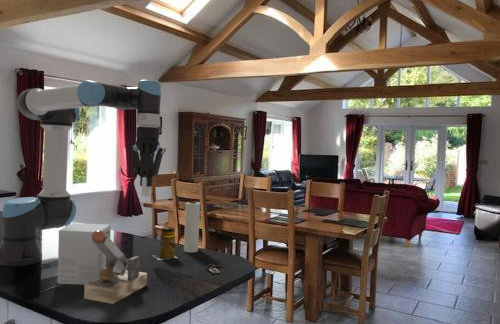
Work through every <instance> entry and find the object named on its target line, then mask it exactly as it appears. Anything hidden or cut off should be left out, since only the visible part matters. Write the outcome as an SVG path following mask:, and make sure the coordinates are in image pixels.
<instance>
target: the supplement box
mask: <svg viewBox="0 0 500 324" xmlns="http://www.w3.org/2000/svg"><path fill="white" fill-rule="evenodd" d="M111 228H112V227H111V224H104V223H103V224H102V223H76V222H74V223H70V224H69V225H67V226H64V228H61V229H59V230H58V250H57V251H58V257H57V284H58V285H82V286H85V285H86V284H88V283H91V282H93V281H95V280H97V279H100V271H101V270H102V269H103V268H105V267H106V256H105V255H104V254H103V253H102V251H101V250H100V249H99V248H98V247H97V246H96V245H95V244H94V243H93V240H92V238H91V236H92V234H93V232H95V231H97V230H100V231H102V232H103V233H104V235H105V236H108V237H109V238H110V239H111Z"/></svg>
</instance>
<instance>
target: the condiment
mask: <svg viewBox="0 0 500 324" xmlns="http://www.w3.org/2000/svg"><path fill="white" fill-rule="evenodd" d="M159 241H160V242H159V254H154V255H153V254H152V255H151V256H152V257H153V258H154V259H155V258H156V260H157V261H164V260H171V259H170V258H173V259H174V258H175V259H178V256H175V253H176V252H175V251H176V234H175V227H170V226H165V227H162V228H161V234H160V239H159ZM157 256H158V257H157ZM160 258H163V259H160ZM173 259H172V260H173Z"/></svg>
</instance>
